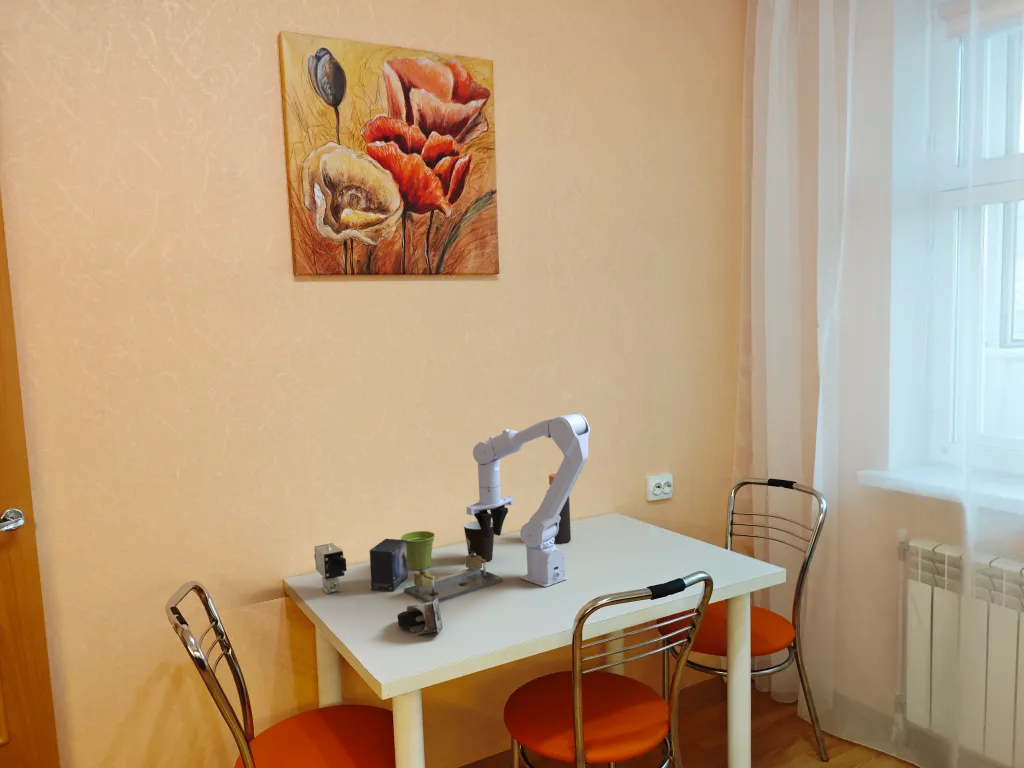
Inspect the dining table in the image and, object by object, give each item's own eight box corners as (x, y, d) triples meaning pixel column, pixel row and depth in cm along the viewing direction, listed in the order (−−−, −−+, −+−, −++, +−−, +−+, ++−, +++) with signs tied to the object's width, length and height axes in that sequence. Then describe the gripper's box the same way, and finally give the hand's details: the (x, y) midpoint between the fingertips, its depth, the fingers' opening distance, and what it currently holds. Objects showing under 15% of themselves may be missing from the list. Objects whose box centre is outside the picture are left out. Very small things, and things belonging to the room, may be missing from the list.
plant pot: (443, 563, 206) (442, 532, 205) (423, 574, 198) (421, 542, 197) (416, 559, 210) (415, 529, 210) (395, 569, 202) (393, 538, 202)
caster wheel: (404, 631, 167) (448, 623, 167) (394, 642, 156) (440, 633, 156) (399, 601, 168) (442, 593, 168) (389, 610, 157) (435, 601, 156)
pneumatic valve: (328, 599, 182) (325, 552, 181) (315, 586, 192) (312, 540, 191) (350, 594, 184) (347, 547, 183) (336, 581, 195) (333, 537, 194)
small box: (394, 592, 185) (392, 551, 184) (370, 591, 187) (367, 550, 186) (409, 577, 195) (407, 538, 195) (386, 576, 197) (384, 538, 196)
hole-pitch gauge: (502, 581, 190) (501, 558, 189) (431, 605, 175) (430, 580, 175) (474, 570, 199) (472, 548, 198) (404, 592, 184) (402, 569, 184)
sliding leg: (489, 574, 191) (489, 556, 190) (481, 576, 189) (481, 558, 189) (473, 568, 196) (472, 550, 195) (465, 570, 194) (465, 553, 194)
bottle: (574, 539, 223) (572, 473, 222) (564, 545, 217) (561, 478, 216) (555, 536, 227) (552, 472, 225) (544, 542, 221) (541, 476, 219)
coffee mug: (495, 564, 203) (493, 528, 202) (464, 565, 203) (462, 529, 203) (497, 551, 215) (495, 517, 214) (467, 552, 215) (465, 518, 214)
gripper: (501, 479, 204) (503, 527, 205) (458, 488, 194) (461, 539, 195) (517, 482, 198) (520, 532, 199) (475, 492, 189) (477, 544, 190)
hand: (492, 536), depth 197 cm, fingers open, 3 cm apart
